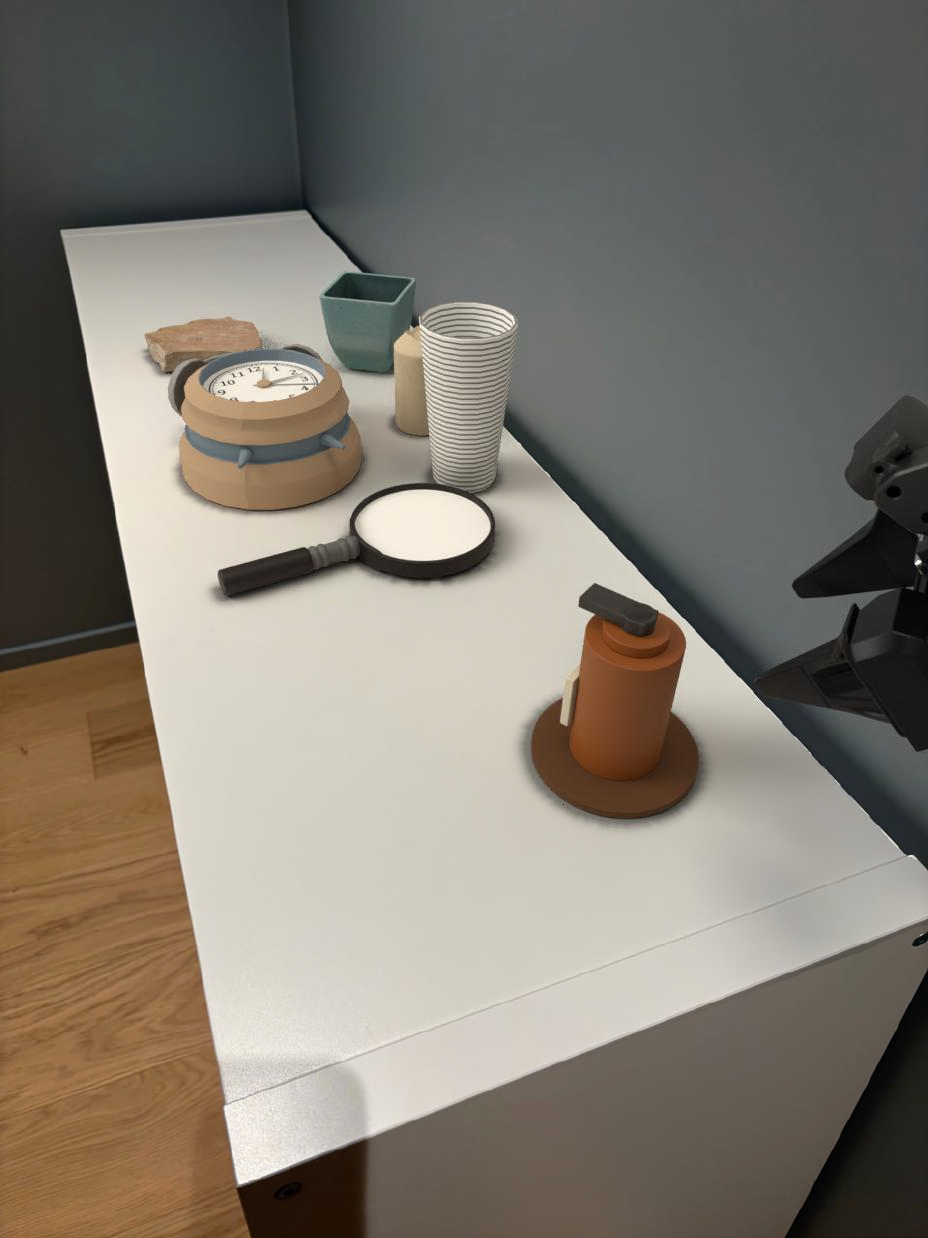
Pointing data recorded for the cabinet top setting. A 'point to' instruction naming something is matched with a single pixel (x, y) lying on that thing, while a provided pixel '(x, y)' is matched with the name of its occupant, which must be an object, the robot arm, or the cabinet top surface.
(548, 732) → the coaster
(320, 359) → the alarm clock
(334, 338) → the flower pot
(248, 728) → the cabinet top surface
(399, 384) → the candle
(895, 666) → the robot arm
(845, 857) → the cabinet top surface
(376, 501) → the magnifying glass
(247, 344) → the stone
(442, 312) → the cup
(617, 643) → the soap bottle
